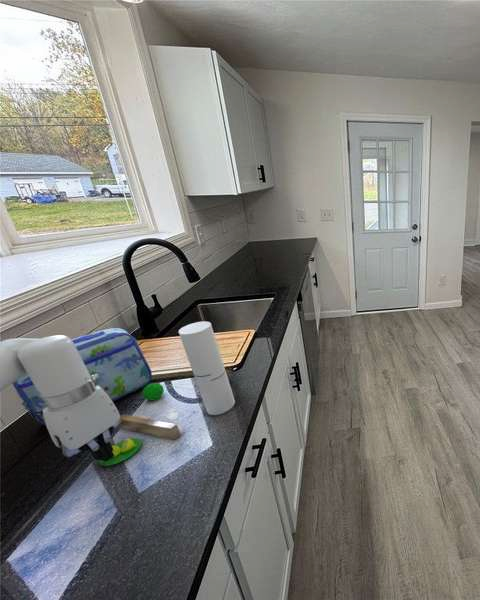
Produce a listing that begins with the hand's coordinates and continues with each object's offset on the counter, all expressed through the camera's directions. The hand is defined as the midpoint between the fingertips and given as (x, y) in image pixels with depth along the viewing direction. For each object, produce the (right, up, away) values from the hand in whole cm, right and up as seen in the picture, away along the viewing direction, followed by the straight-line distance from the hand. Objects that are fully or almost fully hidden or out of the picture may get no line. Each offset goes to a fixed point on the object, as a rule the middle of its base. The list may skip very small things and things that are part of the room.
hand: (106, 457), depth 72 cm
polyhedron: (-5, +7, +22) cm, 24 cm away
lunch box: (-21, +6, +21) cm, 31 cm away
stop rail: (+3, +2, +9) cm, 10 cm away
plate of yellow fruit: (+1, -1, +3) cm, 3 cm away
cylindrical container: (+17, +6, +17) cm, 25 cm away
